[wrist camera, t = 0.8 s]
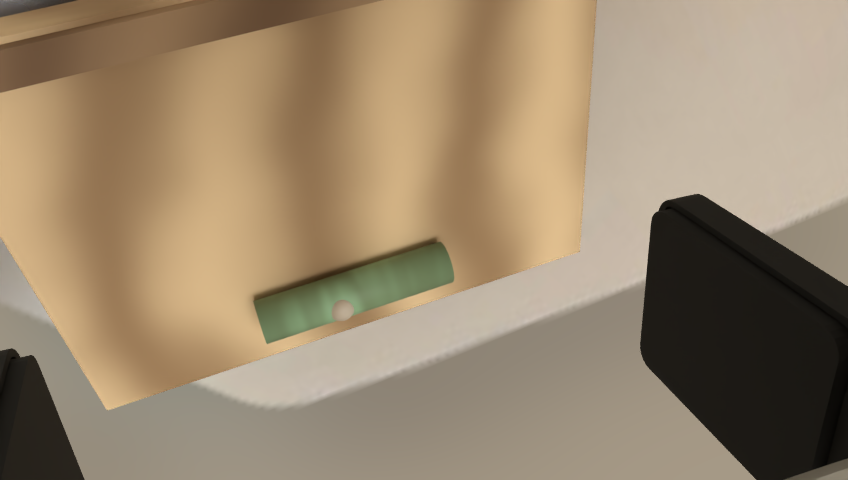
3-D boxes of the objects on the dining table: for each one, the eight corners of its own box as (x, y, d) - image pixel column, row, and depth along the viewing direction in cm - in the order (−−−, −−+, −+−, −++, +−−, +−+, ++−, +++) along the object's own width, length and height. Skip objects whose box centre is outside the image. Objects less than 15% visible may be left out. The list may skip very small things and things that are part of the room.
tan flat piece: (581, -112, 26) (637, -83, 24) (564, 233, 37) (602, 279, 34) (-100, 39, 22) (-120, 96, 19) (105, 383, 32) (109, 450, 30)
